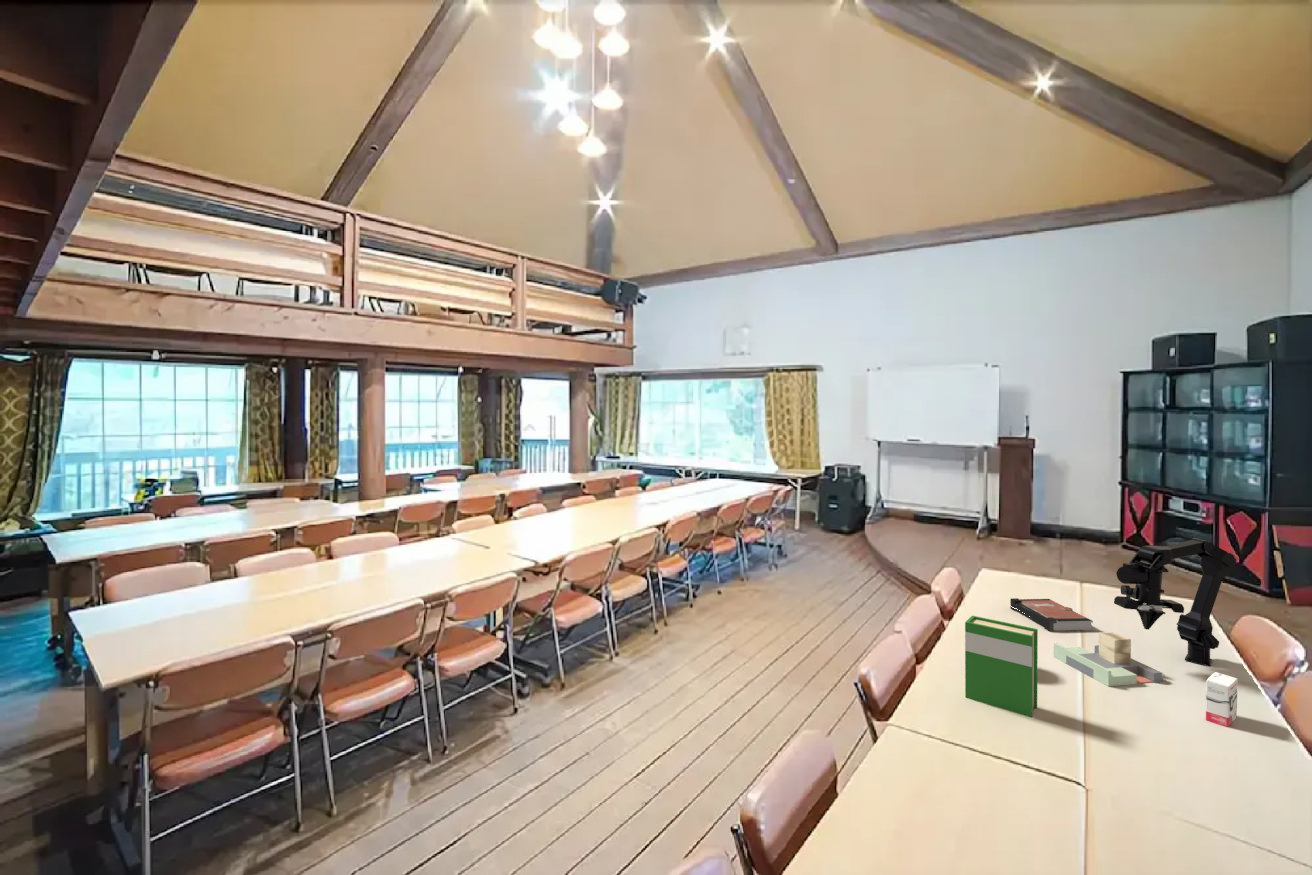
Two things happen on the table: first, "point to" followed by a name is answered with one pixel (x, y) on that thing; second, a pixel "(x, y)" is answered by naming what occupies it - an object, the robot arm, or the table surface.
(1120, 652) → the beech block
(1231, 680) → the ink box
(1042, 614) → the book
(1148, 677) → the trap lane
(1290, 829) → the table surface
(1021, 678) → the hardback book
